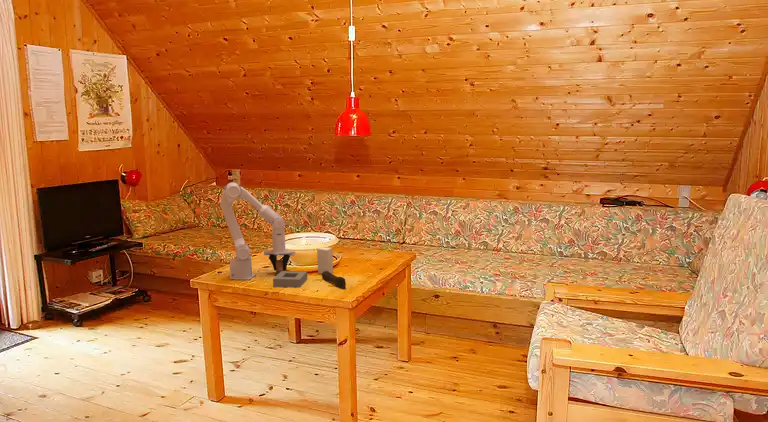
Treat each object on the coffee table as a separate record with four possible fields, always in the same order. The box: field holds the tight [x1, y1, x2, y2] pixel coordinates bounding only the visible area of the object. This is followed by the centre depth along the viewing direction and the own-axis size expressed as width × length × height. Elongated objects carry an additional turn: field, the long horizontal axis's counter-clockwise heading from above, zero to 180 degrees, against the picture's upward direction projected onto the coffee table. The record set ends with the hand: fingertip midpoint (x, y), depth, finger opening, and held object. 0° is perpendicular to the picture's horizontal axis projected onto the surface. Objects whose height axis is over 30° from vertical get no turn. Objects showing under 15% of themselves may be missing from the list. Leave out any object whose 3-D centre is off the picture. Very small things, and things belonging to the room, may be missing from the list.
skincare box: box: [316, 246, 334, 275], centre depth 259 cm, size 6×4×12 cm
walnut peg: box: [275, 259, 284, 275], centre depth 260 cm, size 4×4×6 cm
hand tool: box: [321, 271, 347, 290], centre depth 243 cm, size 19×4×5 cm, turn 30°
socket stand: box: [272, 270, 308, 288], centre depth 246 cm, size 12×12×4 cm
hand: (280, 270), depth 260 cm, fingers closed on walnut peg, 4 cm apart
